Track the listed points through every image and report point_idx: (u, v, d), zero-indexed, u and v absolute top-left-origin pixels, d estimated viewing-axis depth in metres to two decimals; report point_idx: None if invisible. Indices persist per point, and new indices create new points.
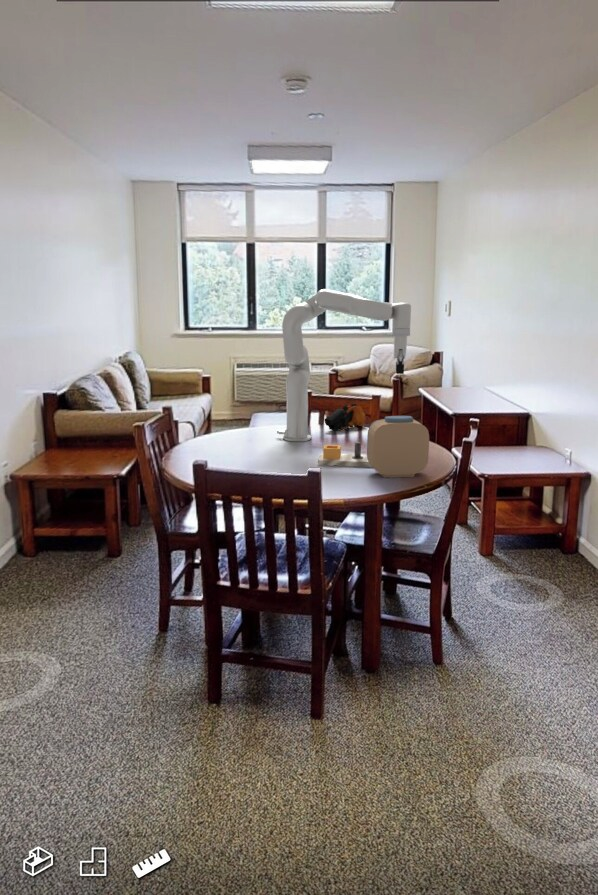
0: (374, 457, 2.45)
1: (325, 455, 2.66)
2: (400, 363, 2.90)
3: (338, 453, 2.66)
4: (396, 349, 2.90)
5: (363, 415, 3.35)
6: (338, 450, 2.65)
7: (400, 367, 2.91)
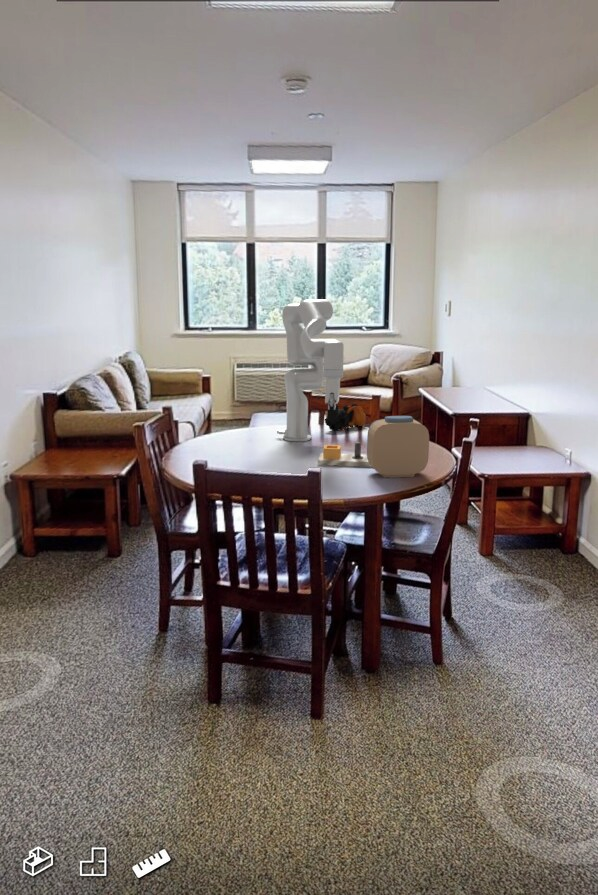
0: (374, 457, 2.45)
1: (325, 455, 2.66)
2: (331, 408, 2.59)
3: (338, 453, 2.66)
4: (327, 393, 2.59)
5: (363, 415, 3.35)
6: (338, 450, 2.65)
7: (332, 413, 2.59)
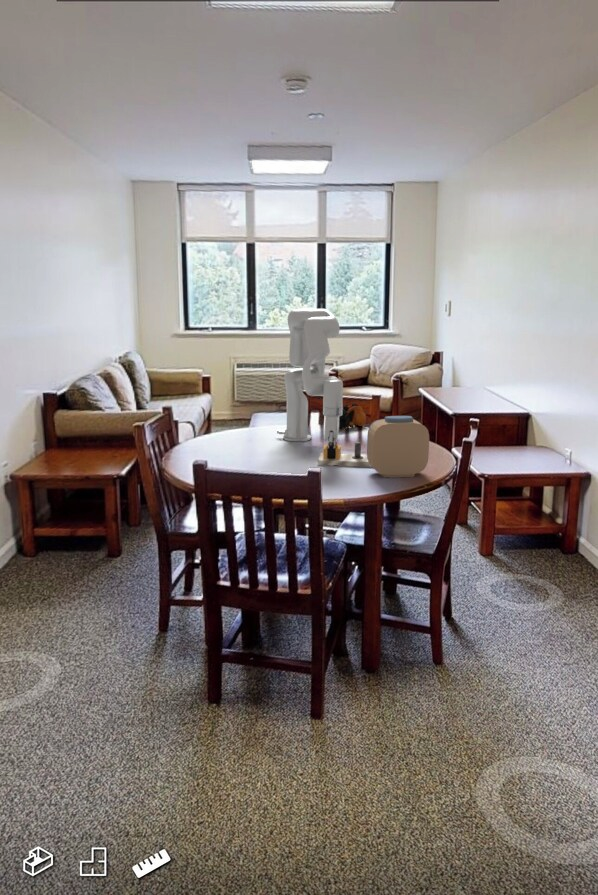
0: (374, 457, 2.45)
1: (325, 455, 2.66)
2: (331, 447, 2.64)
3: (338, 453, 2.66)
4: (326, 431, 2.62)
5: (364, 415, 3.35)
6: (338, 450, 2.65)
7: (331, 452, 2.64)
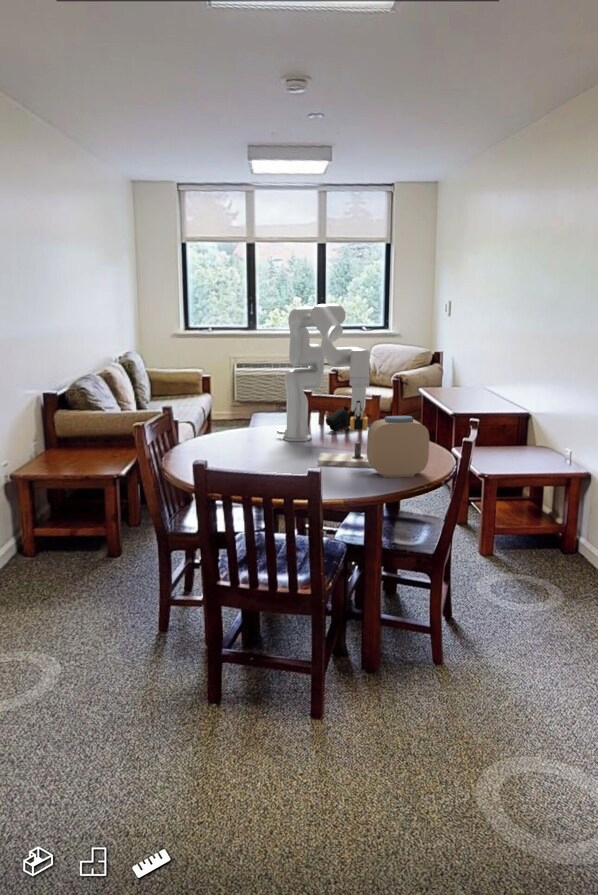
0: (374, 457, 2.45)
1: (352, 426, 2.62)
2: (358, 418, 2.59)
3: (365, 424, 2.61)
4: (353, 401, 2.58)
5: (364, 415, 3.35)
6: (365, 421, 2.61)
7: (358, 422, 2.60)
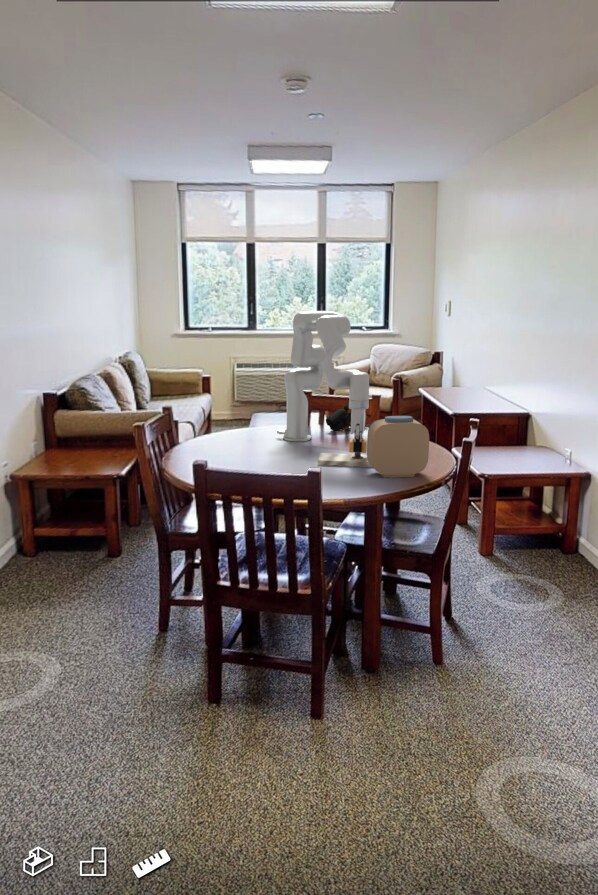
0: (374, 457, 2.45)
1: (351, 448, 2.64)
2: (357, 441, 2.62)
3: (364, 446, 2.64)
4: (353, 424, 2.60)
5: None
6: (364, 443, 2.63)
7: (357, 445, 2.62)
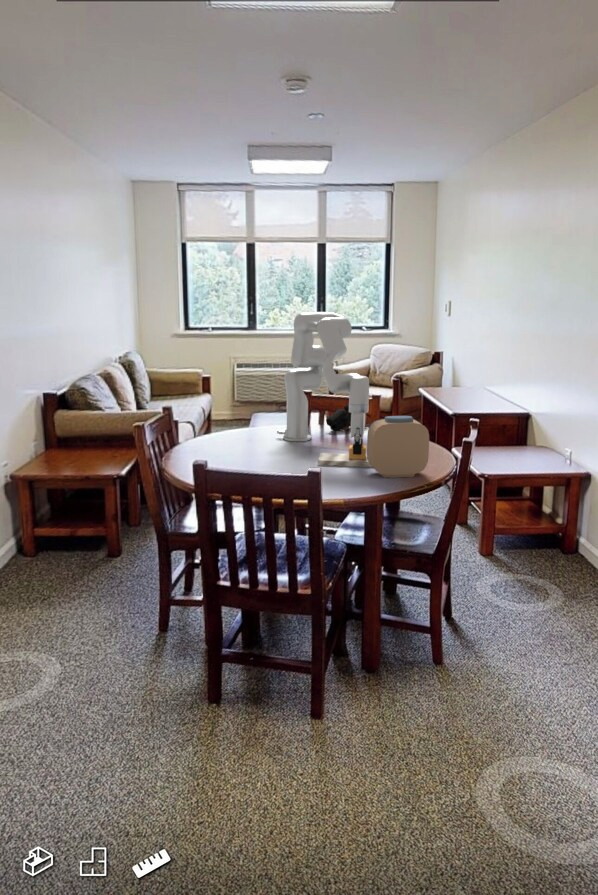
0: (374, 457, 2.45)
1: (351, 455, 2.65)
2: (357, 443, 2.61)
3: (364, 453, 2.64)
4: (352, 428, 2.61)
5: None
6: (364, 450, 2.64)
7: (357, 447, 2.61)
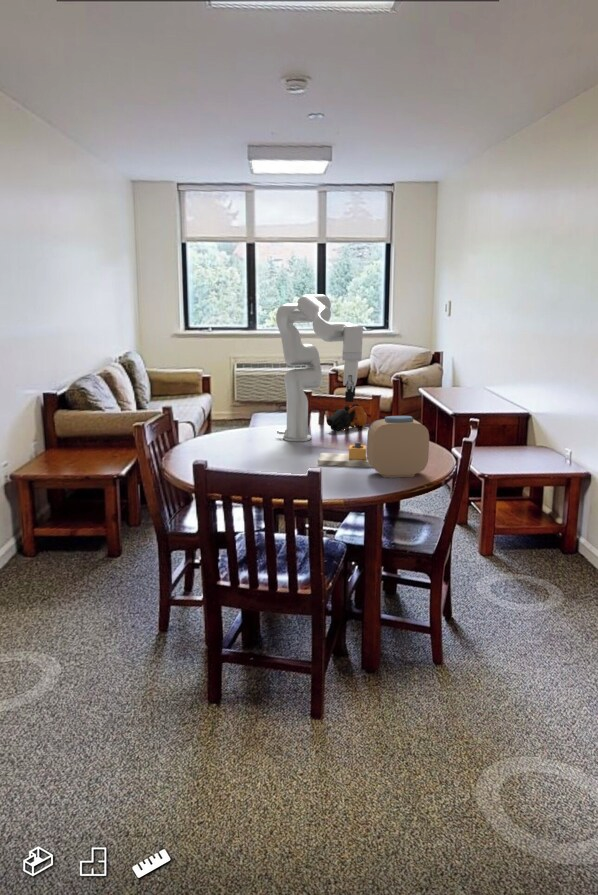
0: (374, 457, 2.45)
1: (351, 455, 2.65)
2: (349, 390, 2.66)
3: (364, 453, 2.64)
4: (345, 375, 2.66)
5: (364, 415, 3.35)
6: (364, 450, 2.64)
7: (349, 395, 2.67)
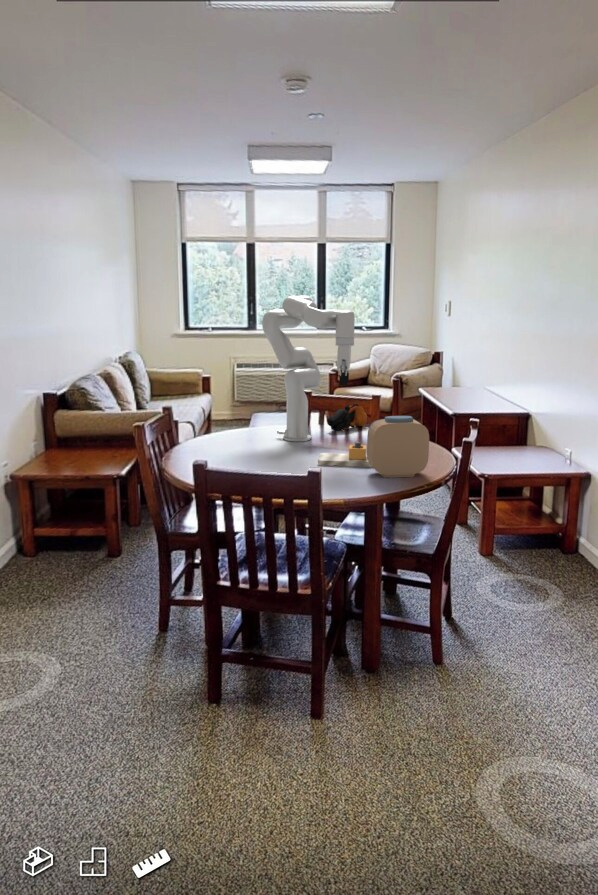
0: (374, 457, 2.45)
1: (351, 455, 2.65)
2: (343, 374, 2.74)
3: (364, 453, 2.64)
4: (339, 360, 2.75)
5: (365, 415, 3.35)
6: (364, 450, 2.64)
7: (343, 379, 2.75)
